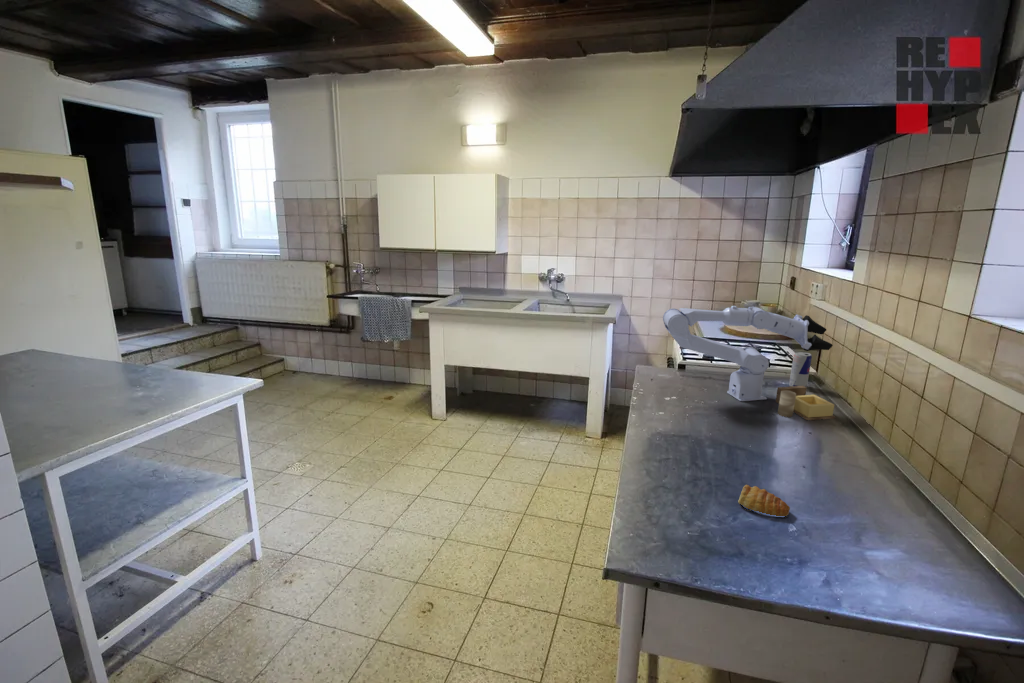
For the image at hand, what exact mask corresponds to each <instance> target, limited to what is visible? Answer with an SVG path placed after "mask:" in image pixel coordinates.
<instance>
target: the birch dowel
mask: <svg viewBox="0 0 1024 683" xmlns="http://www.w3.org/2000/svg"><path fill="white" fill-rule="evenodd" d="M795 399H796V393H795V392H792V391H787V390H783V391H781V395H780V401H779V404H778V409H777V415H778V414H779V415H778V416H780V417H783V416H784V418H792V417H793V415H794V412H793V411H794V405H795Z"/></svg>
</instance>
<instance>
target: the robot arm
mask: <svg viewBox="0 0 1024 683" xmlns="http://www.w3.org/2000/svg"><path fill="white" fill-rule="evenodd" d="M662 321H663V324H664V328H665V329H666V330H667V331H668V333H669V334H670V335H671V337H672V339H673V340H675V342H676V343H677V344H678V346H679V347H680V348H683V349H686V350H690V351H692V352H696V353H699V354H704V355H707V356H711V357H714V358H718V359H719V360H720V359H721V360H723V361H724V360H725V361H727V362H730V363H731V362H732V363H734V364H736V365H738V366H740V367H739V369H738V370H736V371H732V373H731V374H730V377H729V384H728V390H727V391H726V393H727V394H728V395H730V396H731V397H734V399H736V400H737V401H739V402H749V401H750V402H751V401H763V400H764V401H765V400H767V399H768V398H767V397H766V396H764V395H763V394H762V391H763V383H764V377H765V372H766V371H767V370H768V368H769V366H770V365H769V364H770V362H769V359H768V358H767V356H766V355H763V354H761V352H759V351H758V350H757V348H754V347H753V346H748V347H741V346H733V345H729V344H726V343H723V342H720V341H715V340H712V339H709V338H705V337H701V336H700V335H695V334H691V332H690V329H689V328H690V327H693V326H694V325H695V324H696V323H697V322H722V323H723V324H724V325H725V326H731V327H732V326H733V327H734V326H735V327H750V326H752V327H754V328H755V329H757V330H763V329H764V330H767V331H768V332H772V333H774V334H778V335H781V336H785V337H788V338H790V339H794V340H795V341H796V342H797V343H798V344H799V345H800V346H801V348H802V349H803V351H804V352H805V351H806V352H810V351H815V350H818V351H819V350H824V351H829V350H831V348H832V347H833V343H831V342H829V341H826V340H824V339H821V338H820V337H819V336H817V335H824V333H826V332H827V328H826V327H824V326H822V325H821V324H819V323H817V322H816V321H815V320H813V319H812V318H811V317H810V315H805V316H804V317H803V316H802V315H800V314H795V316H794V317H793V318H791V317H788V316H786V315H785V316H784V315H781V314H778V313H773V312H772V311H771V312H770V311H766V310H765V309H762V308H760V307H757V306H748V307H738V306H736V305H731V307H726V308H724V309H723V310H715V309H714V310H711V309H699V308H685V307H681V308H669V309H667V310H666V311H665V312H664V313H663V315H662ZM808 333H812V334H814V335H813V336H812V337H808Z"/></svg>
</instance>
